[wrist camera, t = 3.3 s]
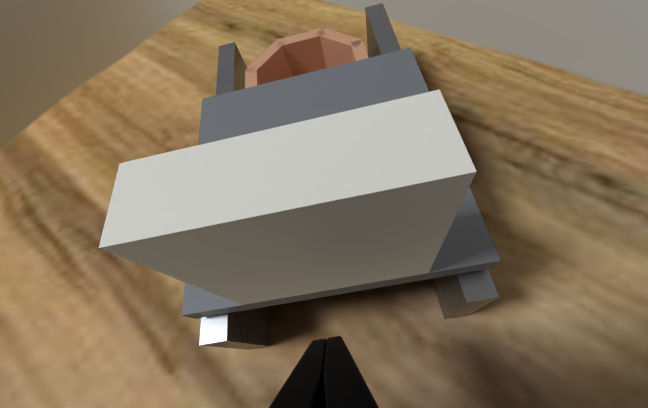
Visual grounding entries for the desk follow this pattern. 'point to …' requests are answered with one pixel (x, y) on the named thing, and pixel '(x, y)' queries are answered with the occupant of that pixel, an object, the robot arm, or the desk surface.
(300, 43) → the terracotta cup
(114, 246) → the sliding lid
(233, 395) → the desk surface
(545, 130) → the desk surface
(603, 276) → the desk surface
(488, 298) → the metal rails
